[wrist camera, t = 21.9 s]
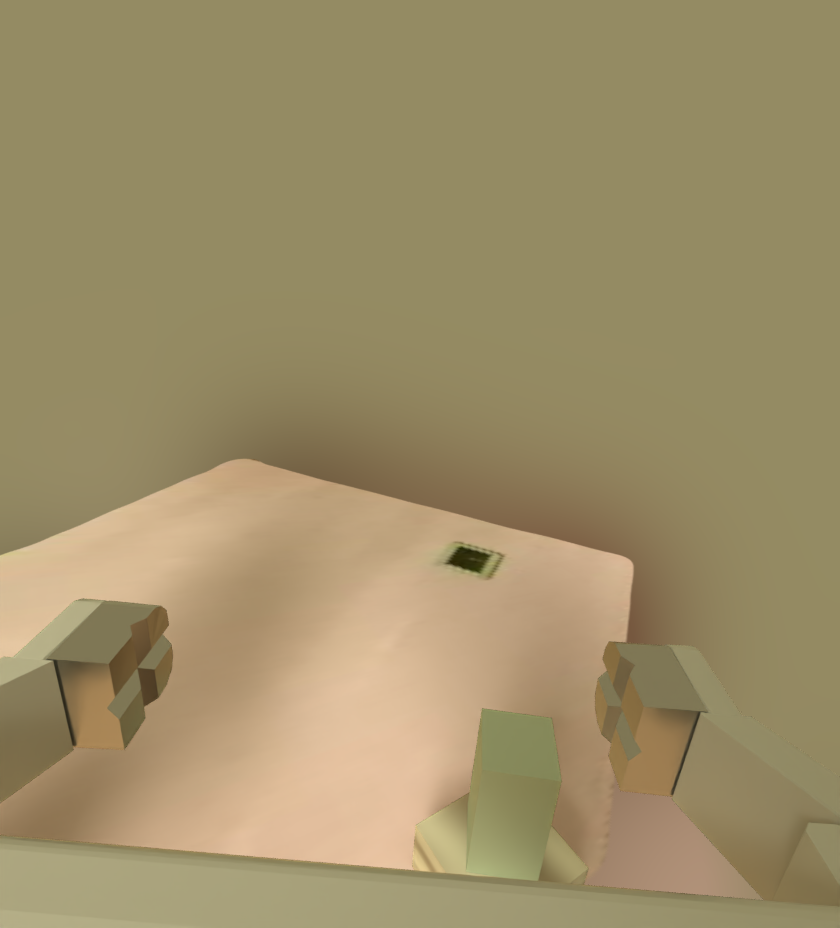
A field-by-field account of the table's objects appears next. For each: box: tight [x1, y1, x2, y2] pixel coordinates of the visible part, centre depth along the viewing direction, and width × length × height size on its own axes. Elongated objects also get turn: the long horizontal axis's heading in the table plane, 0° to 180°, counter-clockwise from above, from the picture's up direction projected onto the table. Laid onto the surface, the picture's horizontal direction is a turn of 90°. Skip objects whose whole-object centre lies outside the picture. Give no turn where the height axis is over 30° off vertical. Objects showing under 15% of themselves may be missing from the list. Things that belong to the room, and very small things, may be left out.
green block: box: [466, 708, 562, 881], centre depth 38 cm, size 5×5×10 cm
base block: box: [412, 793, 588, 885], centre depth 40 cm, size 9×9×5 cm
